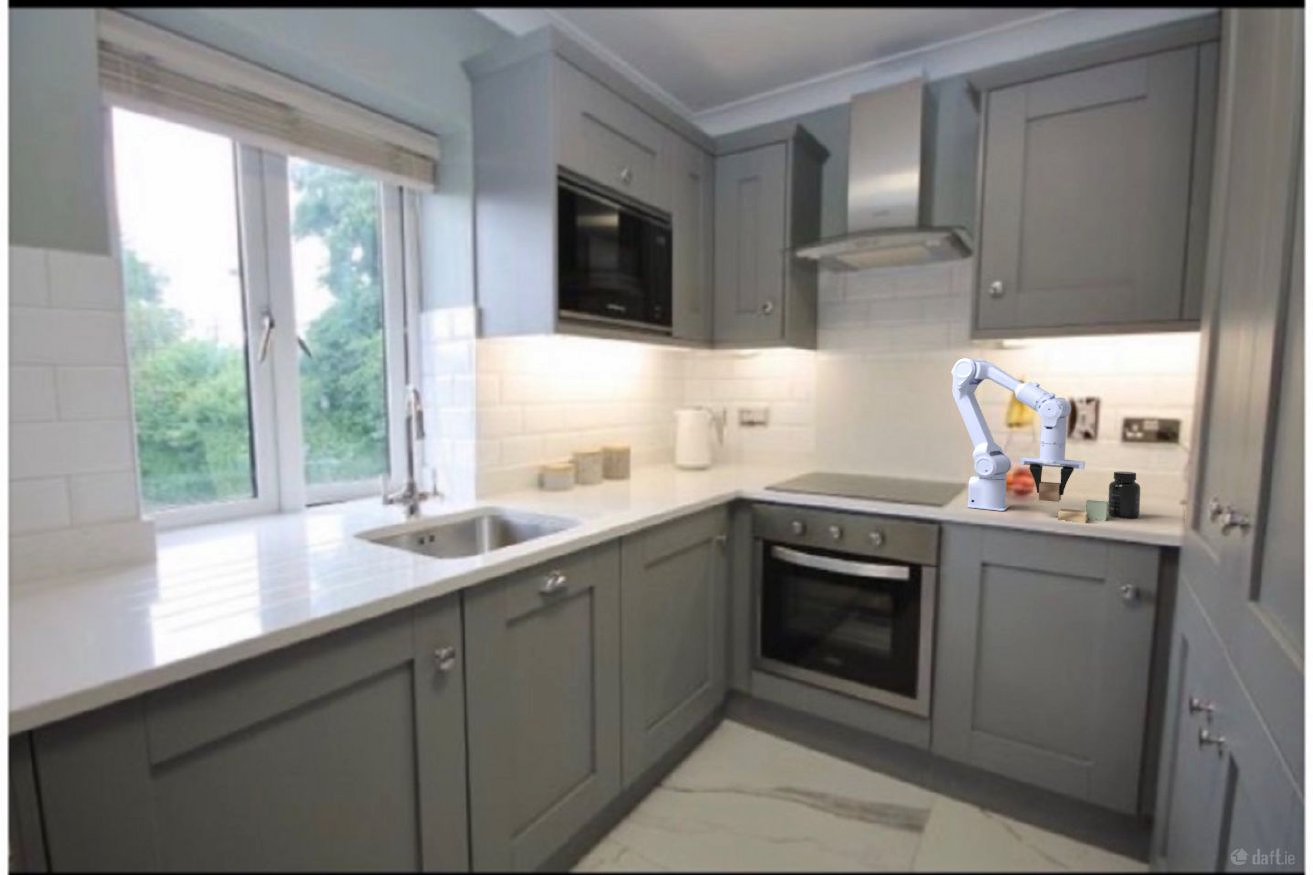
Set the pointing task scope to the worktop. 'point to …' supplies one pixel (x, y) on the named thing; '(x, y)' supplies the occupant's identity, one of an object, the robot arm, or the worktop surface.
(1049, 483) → the walnut cube
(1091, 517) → the sage cube
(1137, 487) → the supplement bottle
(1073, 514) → the oak slab
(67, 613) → the worktop surface
